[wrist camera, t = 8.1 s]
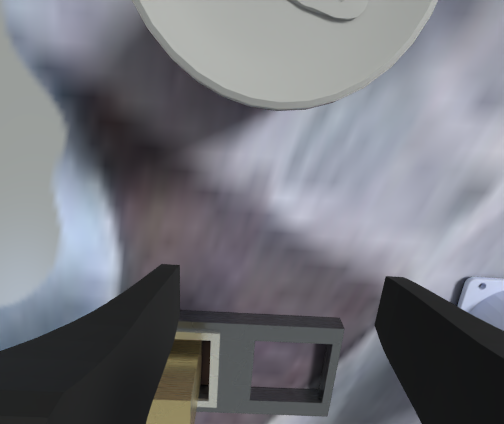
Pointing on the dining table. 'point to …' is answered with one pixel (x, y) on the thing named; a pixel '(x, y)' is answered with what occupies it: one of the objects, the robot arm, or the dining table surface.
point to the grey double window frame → (242, 353)
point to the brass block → (178, 385)
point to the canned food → (285, 45)
